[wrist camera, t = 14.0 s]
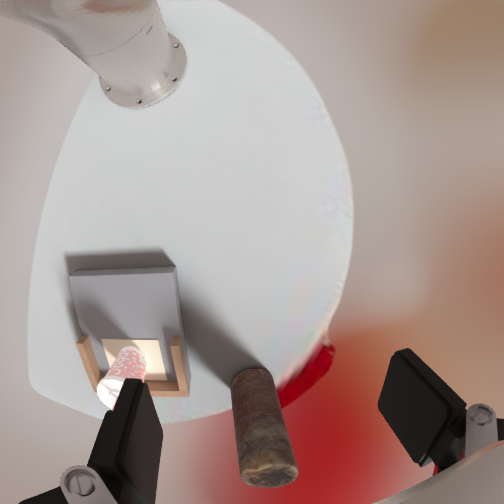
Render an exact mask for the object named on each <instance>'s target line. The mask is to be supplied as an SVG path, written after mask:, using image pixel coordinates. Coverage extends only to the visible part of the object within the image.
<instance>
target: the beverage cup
mask: <svg viewBox="0 0 504 504" xmlns="http://www.w3.org/2000/svg"><path fill="white" fill-rule="evenodd" d="M147 365H148V359H147V357H146V355H145V354H144V352H143V351H142V350H140V349H138V348H136V347H132V346H129V347H125V348H123V349H122V350H121V351H120V353H119V354H118V356H117V358H116V359H115V361H114V362H113V364H112V366H111V367H110V369H109V371H108V372H107V374H106V376H105V377H104V378H102V379H101V380H100V382H99V384H98V386H97V394H98V396H99V398H100V399H101V401H102V402H103V403H104V404H105V405H106V406H108V407H109V408H111V409H112V411H113V409H114V406H115V403H116V401H117V398H118V395H119V393H120V390H121V388H122V385H123V382H124V380H125V379H126V378H138V379H141V380H142V381H143V383H144V379H145V374H146V369H147Z"/></svg>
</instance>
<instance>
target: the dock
mask: <svg viewBox="0 0 504 504" xmlns="http://www.w3.org/2000/svg"><path fill="white" fill-rule="evenodd" d="M68 279H69V284H70V289H71V293H72V298H73V302H74V306H75V310H76V314H77V318H78V321H79V325H80V328H81V332H82V336H81V338H80V339H79V340H78V342H77V343H76V344H77V347H78V350H79V353H80V356H81V359H82V361H83V364H84V367H85V370H86V372H87V375H88V377H89V380H90V382H91V385H92V387H93V390H94V392H97V386H98V384H99V382H100V380H101V379H102V378H104V377H105V376H106V374H107V372H108V371H109V369H110V367H111V366H112V364H113V362H114V361H115V359H116V358H117V356H118V354H119V353H120V351H121V350H122V349H123V348H125V347H129V346H132V347H136V348H138V349H140V350H142V351H143V352H144V354H145V355H146V357H147V359H148V365H147V369H146V374H145V379H144V383H147V384H148V387H149V391H150V394H151V396H156V397H189V390H190V380H191V373H190V367H189V361H188V355H187V349H186V343H185V336H184V329H183V322H182V315H181V307H180V299H179V291H178V282H177V272H176V266H166V267H144V268H121V269H96V270H76V271H75V272H74V273H72V274H71V275H69V276H68Z"/></svg>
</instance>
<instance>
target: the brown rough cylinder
mask: <svg viewBox="0 0 504 504" xmlns="http://www.w3.org/2000/svg"><path fill="white" fill-rule="evenodd" d="M231 399H232V409H233V417H234V425H235V434H236V443H237V450H238V451H237V452H238V461H239V469H240V475H241V479H242V481H243V482H244V483H246V484H247V485H251V486H256V487H268V488H275V487H281V486H283V485H286V484H288V483H291V482H293V481H294V480H295V479H296V477H297V476H298V468H297V464H296V461H295V457H294V454H293V450H292V447H291V444H290V440H289V436H288V433H287V429H286V425H285V422H284V418H283V414H282V411H281V406H280V403H279V399H278V395H277V391H276V388H275V384H274V380H273V377H272V375H271V374H270V373H269V372H268V371H267V370H265V369H247V370H245V371H242V372H240V374H238V375H237V376H236V377H235V379H234V380H233V382H232V384H231Z"/></svg>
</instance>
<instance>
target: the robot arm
mask: <svg viewBox="0 0 504 504" xmlns="http://www.w3.org/2000/svg"><path fill="white" fill-rule="evenodd" d="M0 15H2V16H4V17H6V18H9V19H12V20H14V21H17V22H20V23H24V24H27V25H30V26H32V27H35V28H37V29H40V30H41V31H43V32H45V33H47V34H49V35H50V36H52V37H53V38H55V39H56V40H57V41H59V42H60V43H61V44H62V45H64V46H65V47H66V48H67V49H69V50H70V51H71V52H72V53H74V54H75V55H76V56H77V57H78V58H79V59H81V60H82V61H83V62H84V63H85V64H87V65H88V66H89V67H90V68H91V69H93V70H94V71H95V72H96V73H97V74H98V75H99V76H100V82H101V87H102V90H103V92H104V94H105V95H106V96H107V97H108V98H109V99H110V100H111V101H112V102H113V103H115V104H117V105H119V106H122V107H125V108H134V109H135V108H143V107H147V106H151V105H153V104H155V103H158V102H160V101H161V100H163V99H164V98H166V97H167V96H169V95H170V94H171V93H172V92H173V91H174V90H175V89H176V88H177V86H178V85H179V84H180V82H181V81H182V79H183V77H184V74H185V72H186V67H187V56H186V52H185V49H184V47H183V45H182V44H181V42H180V41H179V40H178V39H177V38H175V37H174V36H173V35H171V34H168V33H167V31H166V28H165V25H164V22H163V19H162V16H161V13H160V8H159V7H158V3H157V0H0ZM176 47H178V48H176ZM175 79H176V80H177V81H175V82H174V80H175ZM110 89H111V90H110ZM109 90H110V91H109ZM140 101H142V102H141V103H140V104H139V102H140ZM466 405H467V404H466V403H465V402H464V401H463V400H462V399H461V398H460V397H459V396H458V395H457V394H456V393H455V392H454V391H453V390H452V389H451V388H450V387H449V386H448V385H447V384H446V383H445V382H444V381H443V380H442V379H441V378H440V377H439V376H438V375H437V374H436V373H435V372H434V371H433V370H432V369H431V368H430V367H429V366H428V365H426V364H425V363H424V362H423V361H422V360H421V359H420V358H419V357H418V356H417V355H416V354H415V353H414V352H413V351H412V350H411V349H409V348H406V349H403V350H399V351H396V352H395V353H394V355H393V356H392V357H391V360H390V364H389V367H388V371H387V375H386V378H385V381H384V385H383V388H382V391H381V394H380V397H379V400H378V409H379V411H380V412H381V414H382V415H383V417H384V418H385V420H386V421H387V423H388V424H389V426H390V427H391V429H392V430H393V431H394V433H395V434H396V436H397V437H398V439H399V440H400V442H401V443H402V445H403V446H404V448H405V449H406V451H407V452H408V454H409V455H410V457H411V458H412V460H413V461H414V462H415V463H418V464H419V466H420V467H423V466H425V465H427V464H429V463H431V461H433V462H434V464H435V465H434V470H433V475H432V477H430V478H429V479H427V480H425V481H423V482H421V483H419V484H417V485H415V486H413V487H411V488H409V489H406V490H404V491H402V492H400V493H397V494H395V495H393V496H391V497H388V498H385V499H383V500H380V501H378V502H375V503H373V504H504V419H498V418H496V414H495V412H494V410H493V409H492V408H491V407H489V406H487V405H485V404H481V403H480V404H474V405H472V406H470V407H469V408H468V410H466V409H465V407H466ZM162 441H163V430H162V427H161V424H160V421H159V419H158V416H157V413H156V410H155V407H154V404H153V400H152V397H151V394H150V391H149V387H148V384H147V383H143V381H142V380H141V379H138V378H126V379H125V380H124V382H123V385H122V388H121V390H120V393H119V395H118V398H117V401H116V403H115V406H114V409H113V411H112V410H108V411H107V412H106V414H105V416H104V419H103V422H102V424H101V427H100V430H99V432H98V435H97V438H96V441H95V444H94V447H93V449H92V453H91V455H90V458H89V461H88V464H87V466H80V465H77V466H73V467H70V468H68V469H67V470H66V471H65V472H64V473H63V474H62V476H61V478H60V486H59V487H57V488H55V489H52V490H50V491H47V492H45V493H42V494H39V495H37V496H34V497H31V498H29V499H26V500H23V501H22V502H20V503H19V504H155V498H156V489H157V479H158V471H159V463H160V456H161V448H162Z"/></svg>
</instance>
